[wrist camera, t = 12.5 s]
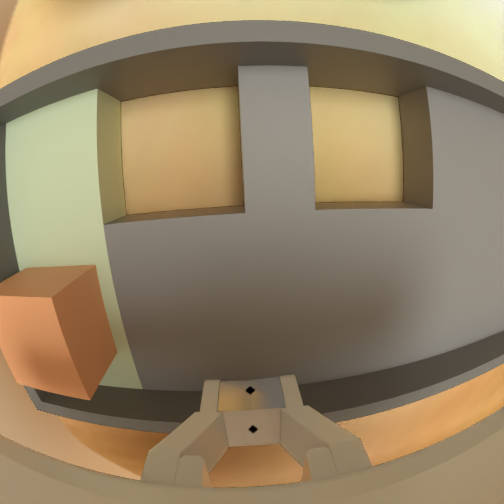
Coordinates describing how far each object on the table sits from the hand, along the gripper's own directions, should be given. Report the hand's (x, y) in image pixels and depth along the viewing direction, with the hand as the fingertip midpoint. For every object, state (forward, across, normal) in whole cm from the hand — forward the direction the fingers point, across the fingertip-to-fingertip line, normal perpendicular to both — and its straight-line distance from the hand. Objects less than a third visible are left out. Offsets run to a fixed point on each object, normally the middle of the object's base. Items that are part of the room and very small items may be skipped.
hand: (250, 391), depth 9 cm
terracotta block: (+4, -10, +1) cm, 11 cm away
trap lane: (+8, +5, +4) cm, 10 cm away
